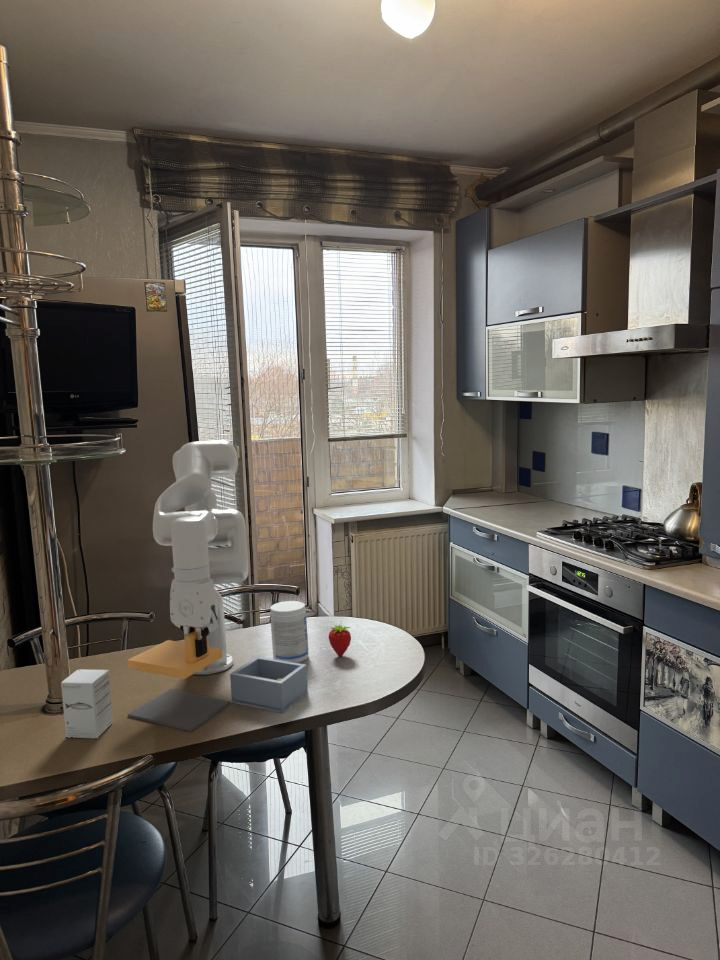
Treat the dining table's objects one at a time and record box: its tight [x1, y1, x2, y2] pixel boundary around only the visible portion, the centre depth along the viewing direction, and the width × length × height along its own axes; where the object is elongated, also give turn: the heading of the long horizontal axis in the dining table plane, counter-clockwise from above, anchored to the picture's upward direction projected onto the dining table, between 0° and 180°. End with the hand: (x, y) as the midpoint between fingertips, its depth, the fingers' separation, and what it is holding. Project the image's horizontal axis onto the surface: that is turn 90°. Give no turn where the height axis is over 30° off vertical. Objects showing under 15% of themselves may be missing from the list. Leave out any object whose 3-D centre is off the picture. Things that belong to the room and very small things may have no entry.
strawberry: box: [328, 620, 352, 658], centre depth 183 cm, size 6×8×10 cm
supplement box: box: [60, 669, 114, 740], centre depth 147 cm, size 7×7×13 cm
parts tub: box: [229, 656, 309, 714], centre depth 160 cm, size 14×11×7 cm
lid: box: [127, 628, 222, 680], centre depth 153 cm, size 16×13×8 cm
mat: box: [127, 688, 232, 732], centre depth 156 cm, size 18×14×1 cm
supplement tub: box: [269, 600, 310, 664], centre depth 182 cm, size 10×10×15 cm
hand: (198, 654), depth 151 cm, fingers closed on lid, 1 cm apart
